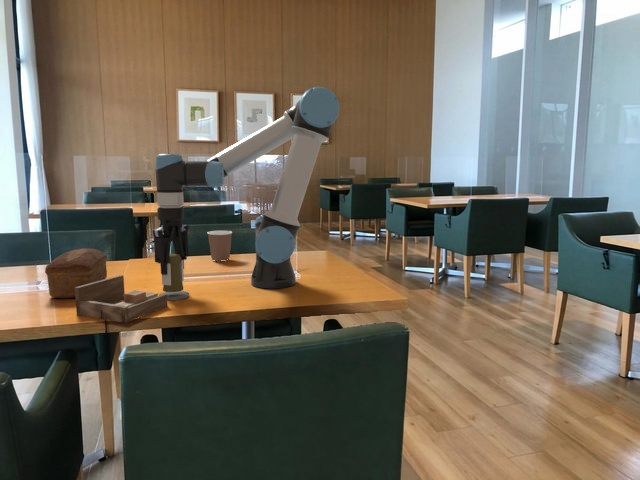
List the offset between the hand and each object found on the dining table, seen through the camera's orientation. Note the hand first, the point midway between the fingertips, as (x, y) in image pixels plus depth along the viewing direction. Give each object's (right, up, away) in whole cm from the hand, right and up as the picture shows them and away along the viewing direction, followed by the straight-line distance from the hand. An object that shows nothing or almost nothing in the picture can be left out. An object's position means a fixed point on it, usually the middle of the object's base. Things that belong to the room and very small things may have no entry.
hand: (173, 282), depth 148 cm
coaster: (0, -4, +1) cm, 4 cm away
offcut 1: (-7, -8, -19) cm, 22 cm away
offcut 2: (-6, -7, -15) cm, 17 cm away
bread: (-33, -3, +9) cm, 34 cm away
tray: (-10, -7, -14) cm, 18 cm away
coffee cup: (+3, +4, +56) cm, 57 cm away
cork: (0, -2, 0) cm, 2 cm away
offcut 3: (-4, -6, -11) cm, 13 cm away
